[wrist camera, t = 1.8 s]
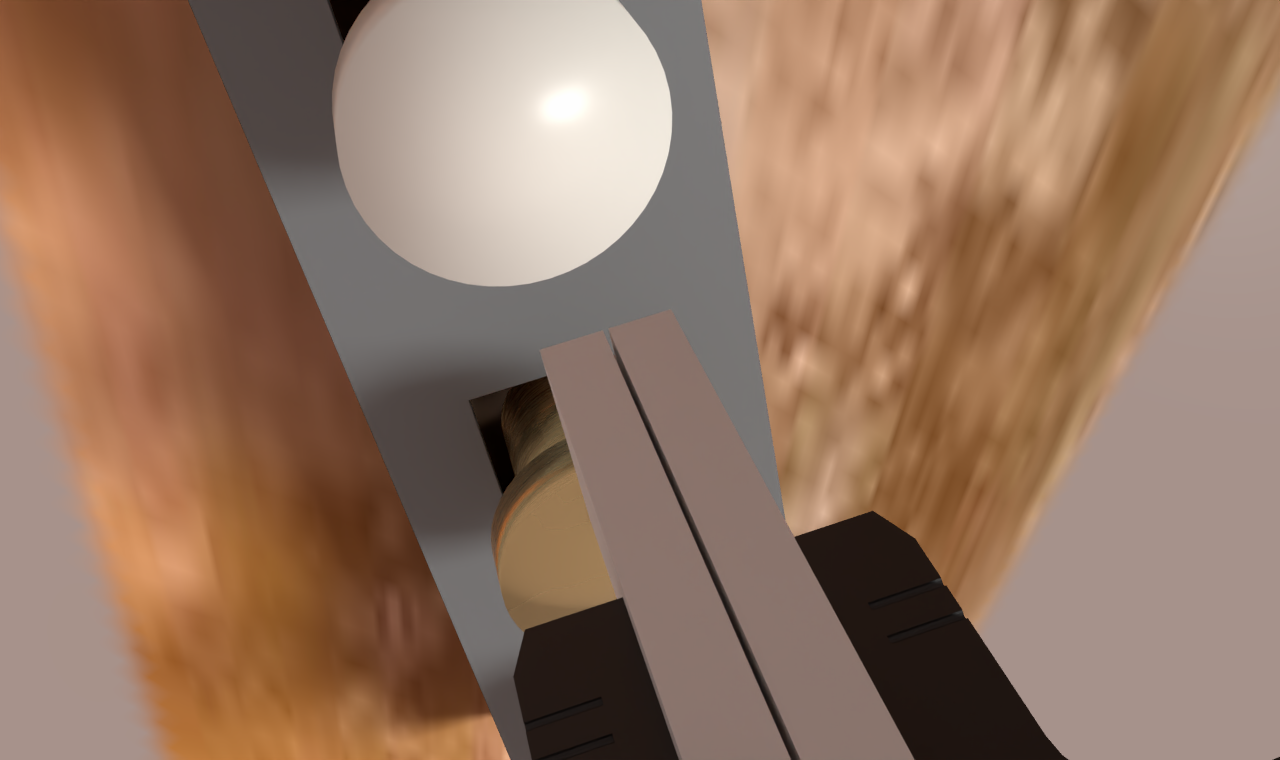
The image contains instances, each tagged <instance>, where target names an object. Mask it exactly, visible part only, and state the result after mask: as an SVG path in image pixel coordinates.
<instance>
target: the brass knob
mask: <svg viewBox="0 0 1280 760" xmlns="http://www.w3.org/2000/svg"><path fill="white" fill-rule="evenodd" d="M615 359H616V358H615ZM616 362H617V361H616ZM501 425H502V430H503V434H504V438H505V442H506V445H507V449H508V453H509V456H510V460H511V464H512V467H513V471H514V475H515V478H514V479H513V480H512V482H511V483H510V484H509V486H508V487H507V489H506V490H505V492H504V494H503V495H502V497H501V499H500V501H499V503H498V506H497V508H496V511H495V514H494V518H493V522H492V527H491V547H492V554H493V558H494V562H495V567H496V571H497V575H498V580H499V584H500V588H501V593H502V596H503V600H504V604H505V607H506V609H507V611H508V613H509V615H510V617H511V618H512V619H513V621H514V622H515V623H516V625H517V626H518V627H519V628H520V629H521V630H522V631H523V632H524V631H525V629H528V628H531V627H534V626H537V625H540V624H543V623H546V622H549V621H552V620H555V619H558V618H561V617H564V616H567V615H570V614H573V613H576V612H579V611H582V610H585V609H588V608H591V607H594V606H597V605H600V604H603V603H606V602H609V601H613V600H616V599H617V598H616V595H615V592H614V589H613V586H612V583H611V580H610V577H609V574H608V571H607V568H606V565H605V562H604V559H603V556H602V553H601V551H600V548H599V545H598V542H597V539H596V536H595V533H594V530H593V527H592V524H591V521H590V518H589V515H588V511H587V508H586V504H585V501H584V498H583V494H582V491H581V488H580V484H579V481H578V478H577V474H576V471H575V468H574V464H573V461H572V458H571V454H570V451H569V447H568V444H567V441H566V437H565V434H564V431H563V427H562V424H561V421H560V417H559V414H558V411H557V407H556V404H555V401H554V397H553V394H552V390H551V387H550V384H549V380H548V377H547V376H545V377H542V378H539V379H536V380H532V381H529V382H526V383H523V384H520V385H516V386H513V387H511V389H510V391H509V393H508V394H507V396H506V399H505V401H504V404H503V408H502V414H501Z"/></svg>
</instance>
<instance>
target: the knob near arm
mask: <svg viewBox="0 0 1280 760" xmlns="http://www.w3.org/2000/svg"><path fill="white" fill-rule="evenodd" d="M332 115H333V122H334V130H335V138H336V146H337V153H338V159H339V166H340V169H341V173H342V176H343V179H344V183H345V186H346V188H347V191H348V193H349V195H350V197H351V199H352V201H353V204H354V206H355V207H356V209H357V210H358V212H359V213H360V215H361V217H362V218H363V220H364V221H365V223H366V224H367V225H368V226H369V227H370V229H371V230H372V231H373V232H374V233H375V234H376V236H377V237H378V238H379V239H380V240H381V241H382V242H383V243H385V244H386V245H387V246H388V247H389V248H390V249H391V250H392V251H394V252H395V253H396V254H398V255H399V256H401V257H402V258H404V259H405V260H407V261H408V262H410V263H411V264H413V265H415V266H417V267H419V268H421V269H423V270H425V271H427V272H429V273H431V274H434V275H437V276H439V277H442V278H445V279H448V280H452V281H456V282H460V283H465V284H470V285H480V286H515V285H523V284H530V283H534V282H538V281H542V280H546V279H550V278H553V277H556V276H558V275H561V274H564V273H566V272H569V271H571V270H573V269H575V268H577V267H579V266H581V265H583V264H585V263H587V262H588V261H590V260H591V259H593V258H594V257H596V256H597V255H599V254H601V253H602V252H604V251H605V250H606V249H607V248H608V247H610V246H611V245H612V244H613V243H614V242H616V241H617V240H618V239H619V238H620V237H621V236H622V235H623V234H624V233H625V232H626V231H627V230H628V229H629V228H630V227H631V226H632V225H633V223H634V222H635V221H636V219H637V218H638V217H639V215H640V214H641V213H642V211H643V210H644V209H645V207H646V206H647V204H648V202H649V201H650V199H651V197H652V195H653V194H654V192H655V190H656V188H657V185H658V183H659V181H660V178H661V176H662V174H663V171H664V168H665V164H666V161H667V157H668V153H669V148H670V141H671V134H672V107H671V98H670V91H669V87H668V83H667V79H666V75H665V72H664V69H663V67H662V64H661V62H660V60H659V57H658V55H657V53H656V51H655V49H654V47H653V46H652V44H651V42H650V41H649V39H648V37H647V36H646V34H645V33H644V32H643V30H642V29H641V28H640V27H639V25H638V24H637V23H636V22H635V20H634V19H633V18H632V17H631V15H630V14H629V13H628V11H627V10H626V9H625V8H624V6H623V5H622V4H621V3H620V1H619V0H370V1H369V2H368V4H367V5H366V6H365V7H364V8H363V10H362V11H361V12H360V14H359V15H358V17H357V19H356V20H355V22H354V24H353V25H352V27H351V28H350V30H349V32H348V35H347V37H346V39H345V41H344V44H343V46H342V48H341V51H340V54H339V58H338V61H337V65H336V69H335V74H334V81H333V89H332Z"/></svg>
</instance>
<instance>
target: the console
mask: <svg viewBox="0 0 1280 760" xmlns="http://www.w3.org/2000/svg"><path fill="white" fill-rule="evenodd" d="M188 1H189V4H190V6H191V8H192V11H193V13H194V15H195V18H196V20H197V22H198V25H199V27H200V30H201V32H202V34H203V37H204V39H205V41H206V44H207V46H208V48H209V51H210V53H211V55H212V58H213V60H214V62H215V65H216V67H217V70H218V72H219V74H220V77H221V79H222V81H223V84H224V86H225V88H226V91H227V93H228V95H229V98H230V100H231V102H232V105H233V107H234V110H235V112H236V114H237V117H238V119H239V121H240V124H241V126H242V128H243V131H244V133H245V135H246V138H247V140H248V143H249V145H250V147H251V150H252V152H253V154H254V157H255V159H256V161H257V164H258V166H259V168H260V171H261V173H262V175H263V178H264V180H265V183H266V185H267V187H268V190H269V192H270V194H271V197H272V199H273V201H274V204H275V206H276V208H277V211H278V213H279V215H280V218H281V220H282V223H283V225H284V227H285V230H286V232H287V234H288V237H289V239H290V241H291V244H292V246H293V248H294V251H295V253H296V255H297V258H298V260H299V263H300V265H301V267H302V270H303V272H304V274H305V277H306V279H307V281H308V284H309V286H310V288H311V291H312V293H313V295H314V298H315V300H316V303H317V305H318V307H319V310H320V312H321V314H322V317H323V319H324V321H325V324H326V326H327V328H328V331H329V333H330V336H331V338H332V340H333V343H334V345H335V347H336V350H337V352H338V354H339V357H340V359H341V361H342V364H343V366H344V368H345V371H346V373H347V376H348V378H349V380H350V383H351V385H352V387H353V390H354V392H355V394H356V397H357V399H358V401H359V404H360V406H361V408H362V411H363V413H364V416H365V418H366V420H367V423H368V425H369V427H370V430H371V432H372V434H373V437H374V439H375V441H376V444H377V446H378V448H379V451H380V453H381V456H382V458H383V460H384V463H385V465H386V467H387V470H388V472H389V474H390V477H391V479H392V481H393V484H394V486H395V489H396V491H397V493H398V496H399V498H400V500H401V503H402V505H403V507H404V510H405V512H406V514H407V517H408V519H409V521H410V524H411V526H412V529H413V531H414V533H415V536H416V538H417V540H418V543H419V545H420V547H421V550H422V552H423V554H424V557H425V559H426V561H427V564H428V566H429V569H430V571H431V573H432V576H433V578H434V580H435V583H436V585H437V587H438V590H439V592H440V594H441V597H442V599H443V601H444V604H445V606H446V609H447V611H448V613H449V616H450V618H451V620H452V623H453V625H454V627H455V630H456V632H457V634H458V637H459V639H460V641H461V644H462V646H463V649H464V651H465V653H466V656H467V658H468V660H469V663H470V665H471V667H472V670H473V672H474V674H475V677H476V679H477V682H478V684H479V686H480V689H481V691H482V693H483V696H484V698H485V700H486V703H487V705H488V707H489V710H490V712H491V714H492V717H493V719H494V722H495V724H496V726H497V729H498V731H499V733H500V736H501V738H502V740H503V743H504V745H505V747H506V750H507V752H508V754H509V757H510V759H511V760H532V758H531V754H530V749H529V745H528V740H527V736H526V729H525V725H524V722H523V718H522V713H521V709H520V704H519V700H518V696H517V691H516V687H515V682H514V678H513V676H514V672H515V668H516V664H517V659H518V655H519V651H520V647H521V643H522V639H523V635H524V632H523V631H522V630H521V629H520V628H519V627H518V626H517V625H516V623H515V622H514V621H513V619H512V618H511V617H510V615H509V613H508V611H507V609H506V607H505V604H504V600H503V596H502V593H501V588H500V584H499V580H498V575H497V571H496V567H495V562H494V558H493V554H492V547H491V527H492V522H493V518H494V514H495V511H496V508H497V506H498V503H499V501H500V499H501V497H502V495H503V492H502V489H501V486H500V483H499V480H498V478H497V475H496V472H495V469H494V466H493V463H492V461H491V458H490V455H489V452H488V449H487V446H486V444H485V441H484V438H483V435H482V432H481V429H480V427H479V424H478V421H477V418H476V415H475V412H474V410H473V407H472V404H471V401H470V400H471V399H475V398H478V397H481V396H484V395H487V394H491V393H494V392H497V391H500V390H504V389H507V388H510V387H513V386H516V385H520V384H523V383H526V382H529V381H532V380H536V379H539V378H542V377H545V376H547V374H546V370H545V367H544V364H543V360H542V357H541V354H540V350H541V349H544V348H547V347H550V346H554V345H557V344H560V343H563V342H567V341H570V340H573V339H576V338H579V337H583V336H586V335H589V334H592V333H596V332H599V331H602V330H603V332H604V334H605V337H606V339H607V341H608V343H609V346H610V348H611V350H612V353H613V355H615V354H614V350H613V346H612V342H611V338H610V334H609V330H608V329H609V328H612V327H615V326H618V325H621V324H625V323H628V322H631V321H634V320H638V319H641V318H644V317H647V316H650V315H654V314H657V313H660V312H663V311H667V310H670V309H671V310H672V312H673V314H674V316H675V318H676V320H677V322H678V323H679V325H680V327H681V329H682V331H683V333H684V334H685V336H686V338H687V340H688V342H689V344H690V346H691V347H692V349H693V351H694V353H695V355H696V357H697V359H698V360H699V362H700V364H701V366H702V368H703V370H704V371H705V373H706V375H707V377H708V379H709V381H710V383H711V384H712V386H713V388H714V390H715V392H716V394H717V395H718V397H719V399H720V401H721V403H722V405H723V407H724V408H725V410H726V412H727V414H728V416H729V418H730V420H731V421H732V423H733V425H734V427H735V429H736V431H737V432H738V434H739V436H740V438H741V440H742V442H743V444H744V445H745V447H746V449H747V451H748V453H749V455H750V456H751V458H752V460H753V462H754V464H755V466H756V468H757V469H758V471H759V473H760V475H761V477H762V479H763V481H764V482H765V484H766V486H767V488H768V490H769V492H770V493H771V495H772V497H773V499H774V501H775V503H776V505H777V506H778V508H779V510H780V512H781V514H782V516H783V517H784V519H785V515H784V509H783V503H782V497H781V491H780V484H779V478H778V472H777V466H776V460H775V453H774V447H773V441H772V435H771V429H770V423H769V416H768V410H767V404H766V398H765V392H764V385H763V379H762V373H761V367H760V361H759V355H758V348H757V342H756V336H755V330H754V324H753V317H752V311H751V305H750V299H749V293H748V287H747V280H746V274H745V268H744V262H743V256H742V249H741V243H740V237H739V231H738V225H737V219H736V212H735V206H734V200H733V194H732V188H731V181H730V175H729V169H728V163H727V157H726V151H725V144H724V138H723V132H722V126H721V120H720V113H719V107H718V101H717V95H716V89H715V83H714V76H713V70H712V64H711V58H710V52H709V45H708V39H707V33H706V27H705V21H704V15H703V8H702V2H701V0H619V1H620V3H621V4H622V5H623V6H624V8H625V9H626V10H627V11H628V13H629V14H630V15H631V17H632V18H633V19H634V20H635V22H636V23H637V24H638V25H639V27H640V28H641V29H642V30H643V32H644V33H645V34H646V36H647V37H648V39H649V41H650V42H651V44H652V46H653V47H654V49H655V51H656V53H657V55H658V57H659V60H660V62H661V64H662V67H663V69H664V72H665V75H666V79H667V83H668V87H669V91H670V98H671V107H672V134H671V141H670V148H669V153H668V157H667V161H666V164H665V168H664V171H663V174H662V176H661V178H660V181H659V183H658V185H657V188H656V190H655V192H654V194H653V195H652V197H651V199H650V201H649V202H648V204H647V206H646V207H645V209H644V210H643V211H642V213H641V214H640V215H639V217H638V218H637V219H636V221H635V222H634V223H633V225H632V226H631V227H630V228H629V229H628V230H627V231H626V232H625V233H624V234H623V235H622V236H621V237H620V238H619V239H618V240H617V241H616V242H614V243H613V244H612V245H611V246H610V247H608V248H607V249H606V250H605V251H604V252H602V253H601V254H599V255H597V256H596V257H594V258H593V259H591V260H590V261H588V262H587V263H585V264H583V265H581V266H579V267H577V268H575V269H573V270H571V271H569V272H566V273H564V274H561V275H558V276H556V277H553V278H550V279H546V280H542V281H538V282H534V283H530V284H523V285H515V286H480V285H470V284H465V283H460V282H456V281H452V280H448V279H445V278H442V277H439V276H437V275H434V274H431V273H429V272H427V271H425V270H423V269H421V268H419V267H417V266H415V265H413V264H411V263H410V262H408V261H407V260H405V259H404V258H402V257H401V256H399V255H398V254H396V253H395V252H394V251H392V250H391V249H390V248H389V247H388V246H387V245H386V244H385V243H383V242H382V241H381V240H380V239H379V238H378V237H377V236H376V234H375V233H374V232H373V231H372V230H371V229H370V227H369V226H368V225H367V224H366V223H365V221H364V220H363V218H362V217H361V215H360V213H359V212H358V210H357V209H356V207H355V206H354V204H353V201H352V199H351V197H350V195H349V193H348V191H347V188H346V186H345V183H344V179H343V176H342V173H341V169H340V166H339V159H338V153H337V146H336V138H335V130H334V122H333V115H332V89H333V81H334V74H335V69H336V65H337V61H338V58H339V54H340V51H341V48H342V46H343V44H344V41H343V38H342V35H341V32H340V29H339V27H338V24H337V21H336V18H335V15H334V12H333V9H332V7H331V4H330V1H329V0H188Z"/></svg>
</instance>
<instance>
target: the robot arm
mask: <svg viewBox="0 0 1280 760" xmlns="http://www.w3.org/2000/svg"><path fill="white" fill-rule="evenodd" d="M608 330H609V334H610V338H611V342H612V346H613V350H614V354H615V357H616V359H615V357H614V355H613V353H612V350H611V348H610V346H609V343H608V341H607V339H606V337H605V334H604V332H603V330H602V331H599V332H596V333H592V334H589V335H586V336H583V337H579V338H576V339H573V340H570V341H567V342H563V343H560V344H557V345H554V346H550V347H547V348H544V349H541V350H540V354H541V357H542V360H543V364H544V367H545V370H546V374H547V377H548V380H549V384H550V387H551V390H552V394H553V397H554V401H555V404H556V407H557V411H558V414H559V417H560V421H561V424H562V427H563V431H564V434H565V437H566V441H567V444H568V447H569V451H570V454H571V458H572V461H573V464H574V468H575V471H576V474H577V478H578V481H579V484H580V488H581V491H582V494H583V498H584V501H585V504H586V508H587V511H588V515H589V518H590V521H591V524H592V527H593V530H594V533H595V536H596V539H597V542H598V545H599V548H600V551H601V553H602V556H603V559H604V562H605V565H606V568H607V571H608V574H609V577H610V580H611V583H612V586H613V589H614V592H615V595H616V598H617V599H616V600H613V601H609V602H606V603H603V604H600V605H597V606H594V607H591V608H588V609H585V610H582V611H579V612H576V613H573V614H570V615H567V616H564V617H561V618H558V619H555V620H552V621H549V622H546V623H543V624H540V625H537V626H534V627H531V628H528V629H525V631H524V635H523V639H522V643H521V647H520V651H519V655H518V659H517V664H516V668H515V672H514V676H513V678H514V682H515V687H516V691H517V696H518V700H519V704H520V709H521V713H522V718H523V722H524V725H525V729H526V736H527V740H528V745H529V749H530V754H531V758H532V760H1068V759H1067V758H1065V757H1064V756H1063V755H1062V754H1061V753H1060V752H1059V751H1058V750H1057V748H1056V747H1055V746H1054V745H1053V744H1052V743H1051V741H1050V740H1049V739H1048V738H1047V737H1046V735H1045V734H1044V732H1043V731H1042V729H1041V728H1040V726H1039V725H1038V724H1037V722H1036V720H1035V719H1034V717H1033V716H1032V714H1031V713H1030V711H1029V710H1028V708H1027V707H1026V705H1025V704H1024V702H1023V701H1022V699H1021V698H1020V696H1019V695H1018V693H1017V692H1016V690H1015V689H1014V687H1013V686H1012V684H1011V683H1010V681H1009V680H1008V678H1007V677H1006V675H1005V674H1004V672H1003V670H1002V669H1001V667H1000V666H999V664H998V663H997V661H996V660H995V658H994V657H993V655H992V654H991V652H990V651H989V650H988V648H987V646H986V645H985V643H984V642H983V640H982V639H981V637H980V636H979V634H978V633H977V631H976V630H975V628H974V627H973V625H972V624H971V622H970V621H969V619H968V618H967V619H966V618H965V617H964V614H963V611H962V609H961V607H960V606H959V604H958V603H957V601H956V600H955V598H954V597H953V595H952V594H951V592H950V591H949V589H948V588H947V586H944V585H943V583H942V580H941V577H940V575H939V574H938V572H937V571H936V569H935V568H934V566H933V565H932V563H931V562H930V560H929V559H928V557H927V556H926V554H925V553H924V551H923V550H922V548H921V547H920V545H919V544H918V542H917V541H916V539H915V538H913V537H912V536H910V535H909V534H907V533H906V532H904V531H903V530H901V529H900V528H898V527H897V526H895V525H894V524H892V523H891V522H889V521H888V520H886V519H885V518H883V517H881V516H880V515H878V514H877V513H875V512H874V511H871V512H868V513H865V514H862V515H859V516H856V517H853V518H850V519H847V520H844V521H841V522H838V523H835V524H832V525H829V526H826V527H823V528H820V529H817V530H814V531H811V532H808V533H805V534H802V535H799V536H796V537H794V536H793V534H792V532H791V530H790V529H789V527H788V525H787V523H786V521H785V519H784V517H783V516H782V514H781V512H780V510H779V508H778V506H777V505H776V503H775V501H774V499H773V497H772V495H771V493H770V492H769V490H768V488H767V486H766V484H765V482H764V481H763V479H762V477H761V475H760V473H759V471H758V469H757V468H756V466H755V464H754V462H753V460H752V458H751V456H750V455H749V453H748V451H747V449H746V447H745V445H744V444H743V442H742V440H741V438H740V436H739V434H738V432H737V431H736V429H735V427H734V425H733V423H732V421H731V420H730V418H729V416H728V414H727V412H726V410H725V408H724V407H723V405H722V403H721V401H720V399H719V397H718V395H717V394H716V392H715V390H714V388H713V386H712V384H711V383H710V381H709V379H708V377H707V375H706V373H705V371H704V370H703V368H702V366H701V364H700V362H699V360H698V359H697V357H696V355H695V353H694V351H693V349H692V347H691V346H690V344H689V342H688V340H687V338H686V336H685V334H684V333H683V331H682V329H681V327H680V325H679V323H678V322H677V320H676V318H675V316H674V314H673V312H672V310H671V309H670V310H667V311H663V312H660V313H657V314H654V315H650V316H647V317H644V318H641V319H638V320H634V321H631V322H628V323H625V324H621V325H618V326H615V327H612V328H609V329H608ZM616 361H617V362H616ZM1274 760H1280V757H1279V758H1276V759H1274Z"/></svg>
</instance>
